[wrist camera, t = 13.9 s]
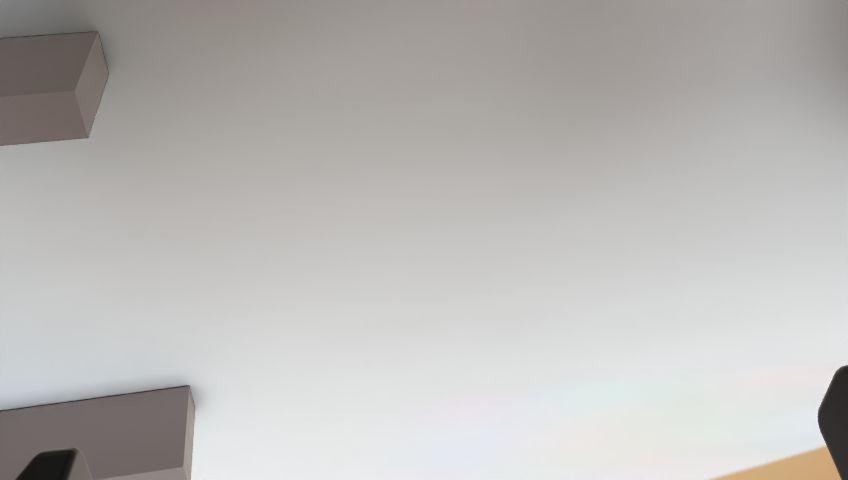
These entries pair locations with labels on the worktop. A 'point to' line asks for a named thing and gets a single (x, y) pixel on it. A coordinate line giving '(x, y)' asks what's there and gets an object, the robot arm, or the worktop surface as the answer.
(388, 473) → the worktop surface
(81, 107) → the printer bay
